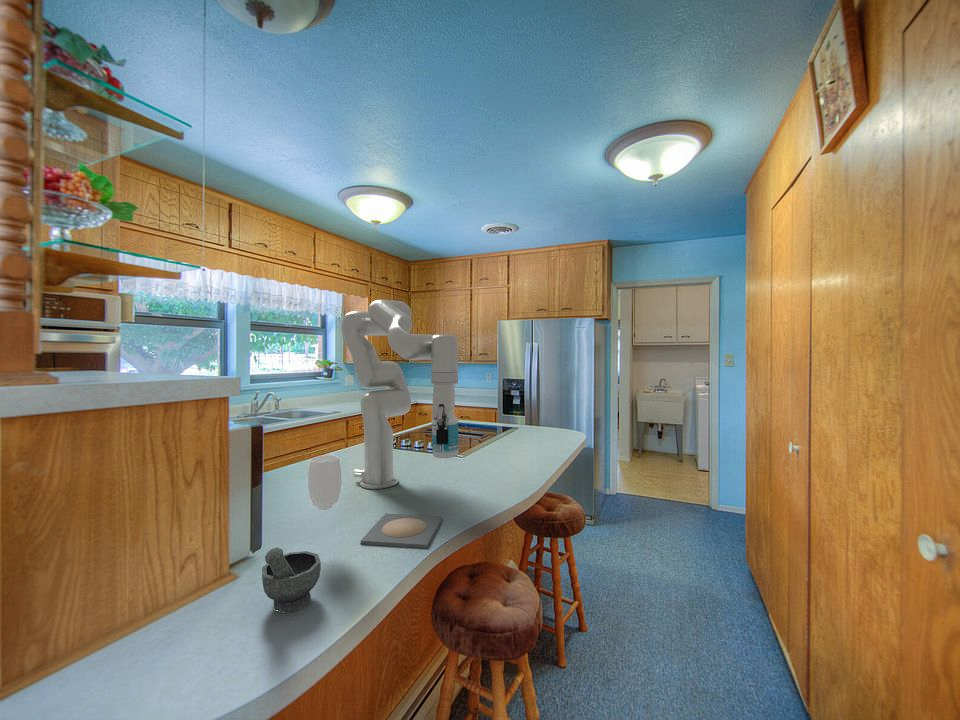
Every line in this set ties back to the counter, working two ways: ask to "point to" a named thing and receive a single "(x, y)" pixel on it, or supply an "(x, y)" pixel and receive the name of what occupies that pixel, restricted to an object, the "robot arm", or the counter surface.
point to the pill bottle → (453, 443)
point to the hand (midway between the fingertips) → (445, 440)
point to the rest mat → (403, 530)
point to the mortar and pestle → (290, 578)
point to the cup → (324, 481)
